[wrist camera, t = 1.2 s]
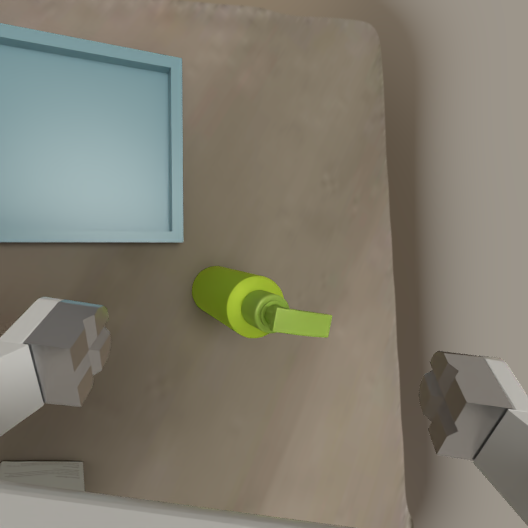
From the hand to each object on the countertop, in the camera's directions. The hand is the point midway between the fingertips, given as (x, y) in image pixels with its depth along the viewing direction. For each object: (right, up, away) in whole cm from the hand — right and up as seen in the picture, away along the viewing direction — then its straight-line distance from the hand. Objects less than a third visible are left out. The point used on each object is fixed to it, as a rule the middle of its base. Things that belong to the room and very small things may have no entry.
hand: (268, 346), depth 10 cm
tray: (-19, +14, +32) cm, 40 cm away
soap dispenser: (-6, -1, +39) cm, 39 cm away
